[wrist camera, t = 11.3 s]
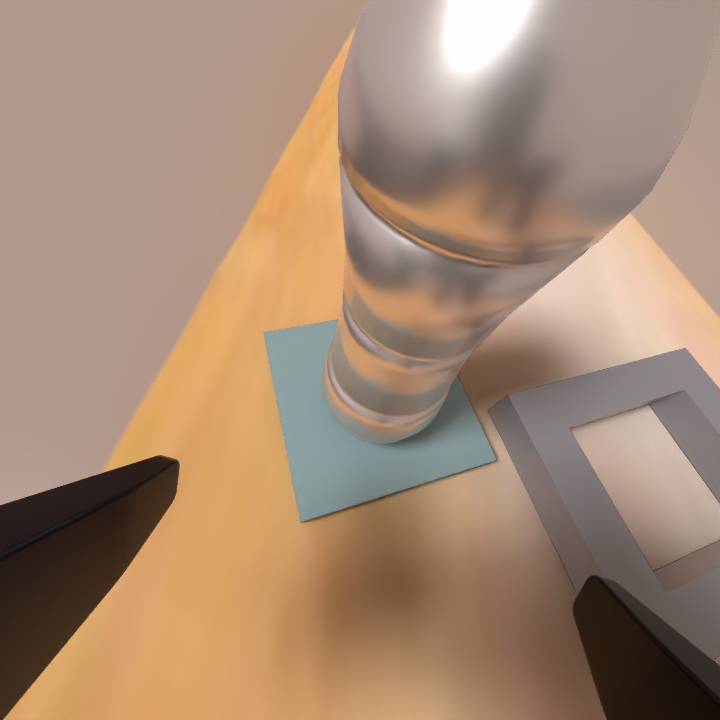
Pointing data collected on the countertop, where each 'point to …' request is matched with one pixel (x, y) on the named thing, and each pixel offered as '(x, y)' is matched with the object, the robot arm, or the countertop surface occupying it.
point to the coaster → (349, 454)
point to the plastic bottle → (488, 173)
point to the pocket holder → (588, 496)
